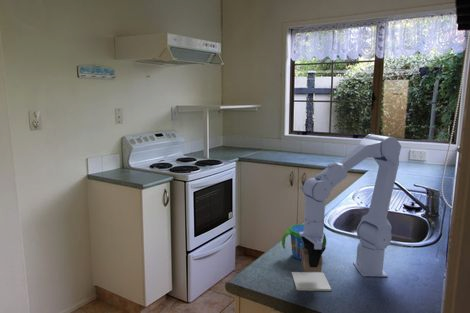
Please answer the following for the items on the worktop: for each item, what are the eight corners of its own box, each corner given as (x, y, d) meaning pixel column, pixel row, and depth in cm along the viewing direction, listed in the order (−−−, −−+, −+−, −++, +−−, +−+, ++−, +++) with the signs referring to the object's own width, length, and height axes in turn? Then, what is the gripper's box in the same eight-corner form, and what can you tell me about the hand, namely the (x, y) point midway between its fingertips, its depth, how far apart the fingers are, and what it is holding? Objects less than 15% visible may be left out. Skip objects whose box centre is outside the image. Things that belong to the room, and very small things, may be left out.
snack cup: (321, 250, 134) (322, 223, 133) (329, 263, 124) (331, 234, 122) (278, 250, 134) (279, 223, 132) (283, 263, 123) (285, 234, 122)
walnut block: (301, 264, 113) (302, 248, 112) (317, 264, 113) (318, 249, 112) (304, 271, 108) (305, 255, 107) (321, 272, 108) (322, 256, 107)
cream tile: (291, 273, 116) (291, 271, 116) (323, 274, 116) (323, 272, 116) (296, 290, 106) (296, 288, 106) (331, 290, 106) (331, 289, 106)
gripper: (296, 211, 115) (294, 252, 117) (305, 227, 101) (302, 273, 103) (319, 211, 115) (316, 252, 117) (330, 228, 101) (327, 274, 103)
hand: (311, 262), depth 110 cm, fingers closed on walnut block, 5 cm apart
